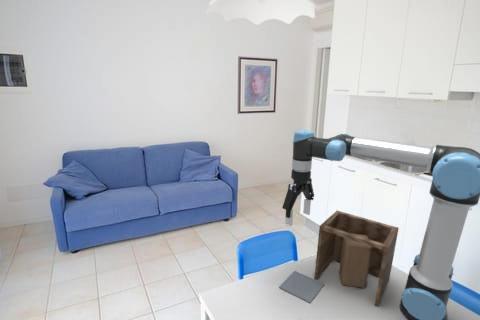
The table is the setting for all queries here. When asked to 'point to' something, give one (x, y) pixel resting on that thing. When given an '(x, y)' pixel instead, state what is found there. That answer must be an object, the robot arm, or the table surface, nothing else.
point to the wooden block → (354, 262)
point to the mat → (302, 286)
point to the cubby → (378, 238)
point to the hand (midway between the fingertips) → (297, 219)
